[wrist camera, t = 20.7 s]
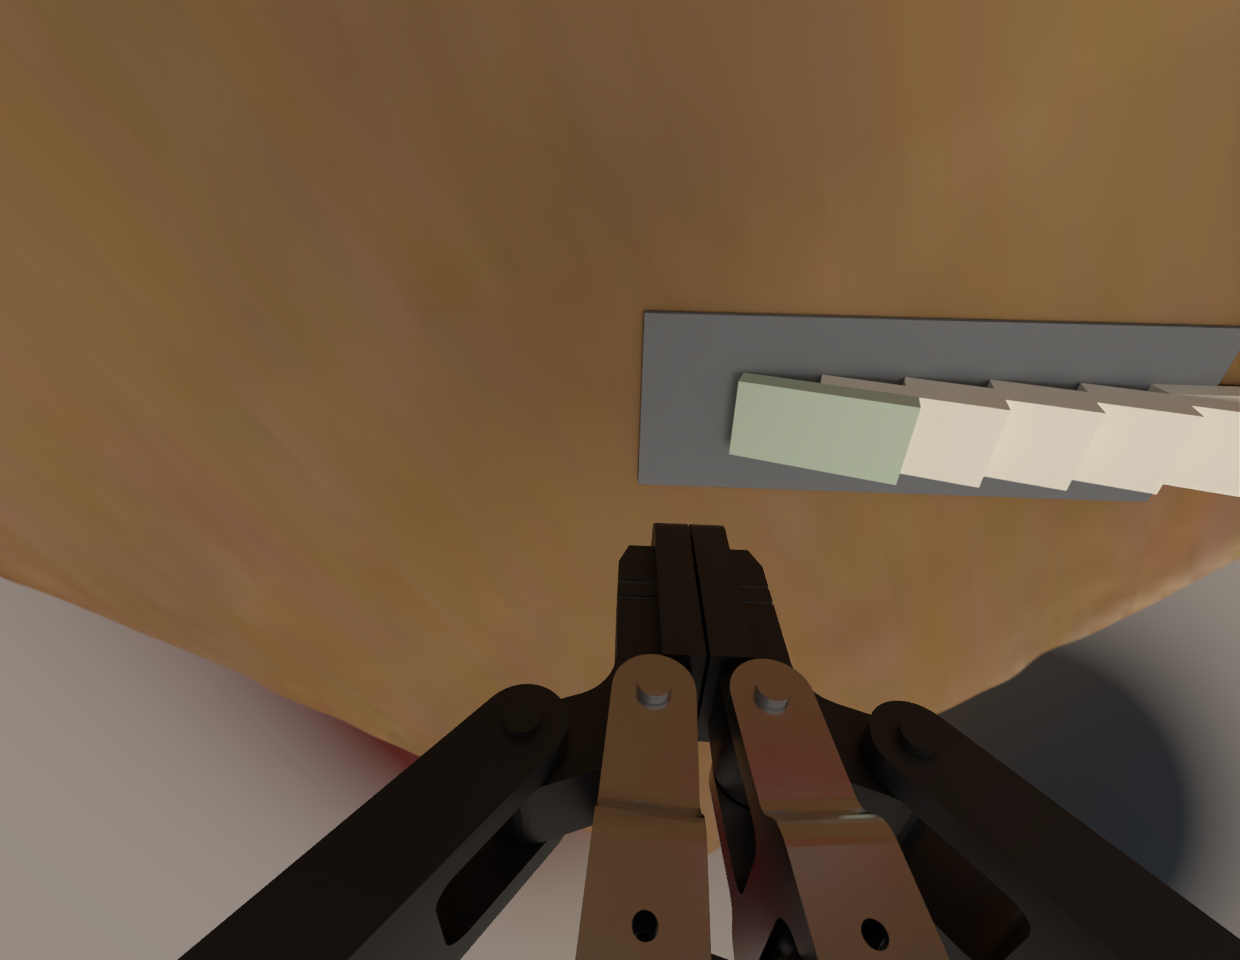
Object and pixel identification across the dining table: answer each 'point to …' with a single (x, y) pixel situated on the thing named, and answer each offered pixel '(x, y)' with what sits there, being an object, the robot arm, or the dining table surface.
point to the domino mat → (886, 381)
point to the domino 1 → (823, 426)
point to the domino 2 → (946, 431)
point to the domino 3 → (1035, 434)
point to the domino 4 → (1127, 437)
